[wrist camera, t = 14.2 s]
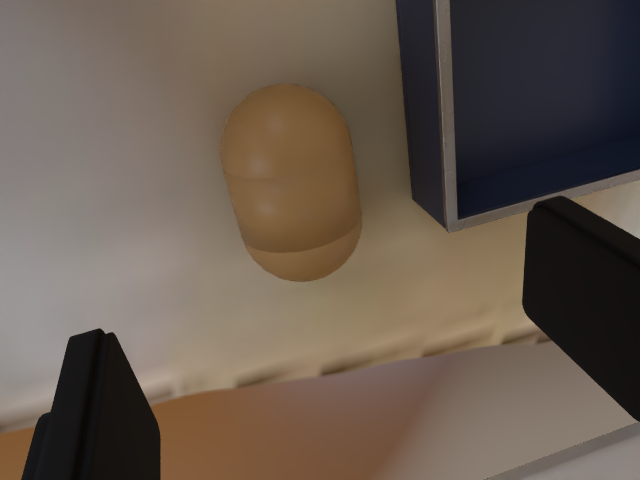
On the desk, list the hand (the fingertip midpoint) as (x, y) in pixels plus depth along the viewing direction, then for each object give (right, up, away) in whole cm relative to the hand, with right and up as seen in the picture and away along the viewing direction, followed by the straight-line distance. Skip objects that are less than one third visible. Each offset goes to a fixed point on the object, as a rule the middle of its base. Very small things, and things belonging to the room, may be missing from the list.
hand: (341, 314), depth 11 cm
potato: (-3, +5, +11) cm, 12 cm away
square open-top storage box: (+9, +11, +11) cm, 18 cm away
